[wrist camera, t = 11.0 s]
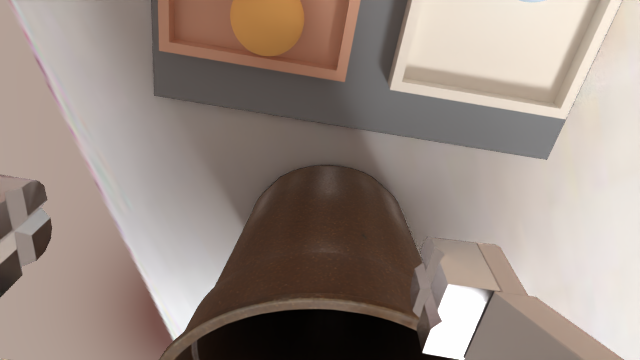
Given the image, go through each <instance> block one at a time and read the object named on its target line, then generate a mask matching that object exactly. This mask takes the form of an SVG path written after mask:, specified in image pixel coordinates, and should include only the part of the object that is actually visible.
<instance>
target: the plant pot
mask: <svg viewBox="0 0 640 360" xmlns="http://www.w3.org/2000/svg"><path fill="white" fill-rule="evenodd" d="M422 263H423V262H422V260H421V257H420V255H419V253H418V250H417V248H416V246H415V243H414V241H413V238H412V236H411V234H410V231H409V229H408V226H407V224H406V221H405V219H404V216H403V213H402V210H401V208H400V206H399V204H398V203H397V201H396V199H395V198H394V196H393V195H392V194H390V193H389V192H388V191H387V190H386V189H385V188H384V187H383V186H382V185H380V184H379V183H378V182H377V181H376V180H375V179H374V178H373V177H371V176H369V175H367V174H365V173H363V172H360V171H358V170H354V169H351V168H347V167H340V166H330V165H321V166H312V167H306V168H301V169H297V170H294V171H292V172H290V173H288V174H286V175H284V176H282V177H280V178H279V179H278V180H277V181H276V182H275V183H274V184H273V185H272V186H270V187H269V188H268V189H267V190H266V191H265V192H264V193H263V194H262V195H261V196H260V197H259V199H258V200H257V202H256V204H255V206H254V209H253V211H252V213H251V215H250V217H249V219H248V221H247V223H246V225H245V227H244V229H243V231H242V233H241V235H240V237H239V239H238V241H237V243H236V245H235V247H234V249H233V251H232V253H231V255H230V258H229V260H228V261H227V263H226V265H225V267H224V269H223V271H222V273H221V275H220V277H219V279H218V281H217V283H216V285H215V287H214V288H213V289H212V290H211V291H210V292H209V293H208V294H207V295H206V296H205V298H204V299H203V300H202V302H201V303H200V304H199V306H198V307H197V309H196V311H195V313H194V315H193V317H192V318H191V320H190V322H189V324H188V326H187V328H186V330H185V331H184V332H183V333H182V334H181V335H180V336H179V337H178V338H176V339H175V340H174V341H173V342H172V343H171V344H170V345H169V346H168V347H167V349H166V350H165V352H164V353H163V354H162V356H161V358H160V359H159V360H463V359H457V358H450V357H444V356H438V355H431V354H425V353H422V350H421V346H420V341H419V337H418V333H417V328H416V327H417V324H418V321H419V317H418V316H417V315H416V314H415V313H414V312H413V310H412V305H411V297H410V291H411V282H412V278H413V274H414V271H415V268H416V267H418V266H419V265H420V264H422Z"/></svg>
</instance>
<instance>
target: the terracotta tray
mask: <svg viewBox="0 0 640 360" xmlns="http://www.w3.org/2000/svg"><path fill="white" fill-rule="evenodd" d="M300 1H301V4H302V7H303V11H304V26H303V30H302V33H301V36H300V38H299V39H298V41H297V42H296V44H295V45H294V46H293V47H292V48H291V49H289V50H288V51H286V52H285V53H282V54H280V55H276V56H261V55H258V54H255V53H253V52H251V51H249V50H248V49H246V48H245V47H244V46H243V45H242V44H241V43H240V42H239V40H238V39H237V37H236V36H235V34H234V32H233V29H232V25H231V20H230V11H231V5H232V2H233V0H158V27H159V51H163V52H169V53H175V54H181V55H187V56H193V57H199V58H205V59H211V60H217V61H223V62H229V63H234V64H240V65H246V66H252V67H258V68H264V69H270V70H276V71H282V72H288V73H294V74H300V75H306V76H311V77H317V78H323V79H329V80H335V81H341V82H345V78H346V73H347V68H348V63H349V58H350V53H351V47H352V42H353V37H354V32H355V27H356V22H357V16H358V11H359V6H360V1H361V0H300Z"/></svg>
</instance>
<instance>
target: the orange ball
mask: <svg viewBox="0 0 640 360" xmlns="http://www.w3.org/2000/svg"><path fill="white" fill-rule="evenodd" d="M230 20H231V25H232V29H233V32H234V34H235V36H236V37H237V39H238V40H239V42H240V43H241V44H242V45H243V46H244V47H245V48H246V49H248V50H249V51H251V52H253V53H255V54H258V55H261V56H276V55H280V54H282V53H285V52H286V51H288V50H289V49H291V48H292V47H293V46H294V45H295V44H296V42H297V41H298V39H299V38H300V36H301V33H302V30H303V26H304V11H303V7H302V4H301V1H300V0H233V2H232V5H231V11H230Z"/></svg>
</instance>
